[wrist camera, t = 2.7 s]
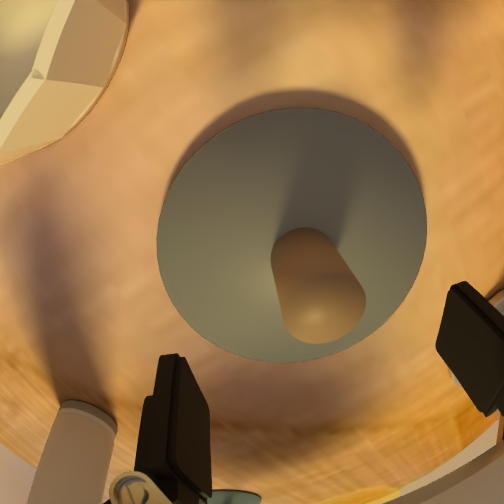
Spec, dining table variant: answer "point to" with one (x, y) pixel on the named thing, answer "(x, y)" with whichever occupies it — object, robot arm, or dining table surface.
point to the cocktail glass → (233, 497)
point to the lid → (291, 235)
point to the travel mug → (75, 457)
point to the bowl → (54, 67)
